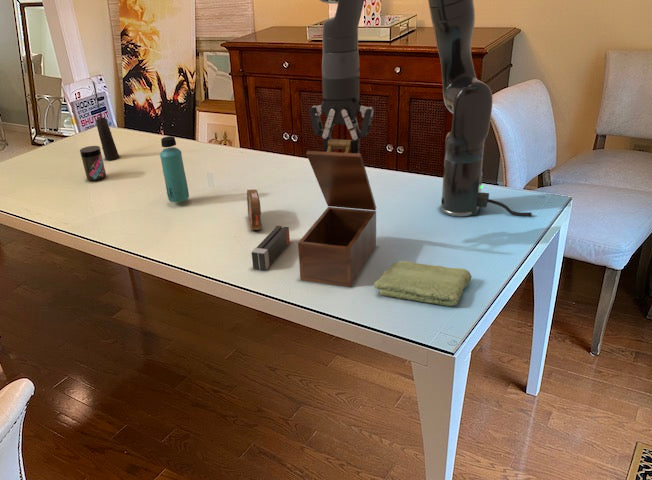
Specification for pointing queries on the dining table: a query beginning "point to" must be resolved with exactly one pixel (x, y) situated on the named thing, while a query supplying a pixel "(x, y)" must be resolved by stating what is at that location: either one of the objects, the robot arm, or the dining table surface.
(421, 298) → the washcloth
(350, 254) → the chest
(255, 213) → the tin
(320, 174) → the lid
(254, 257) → the dark grey long block
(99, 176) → the supplement container
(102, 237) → the dining table surface
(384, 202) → the dining table surface
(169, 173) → the beverage bottle
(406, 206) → the dining table surface
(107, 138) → the butter churn
